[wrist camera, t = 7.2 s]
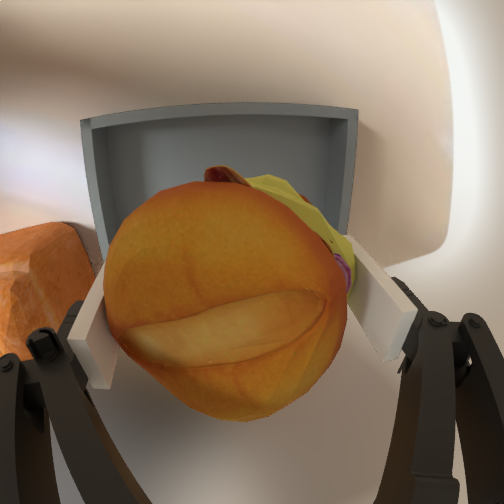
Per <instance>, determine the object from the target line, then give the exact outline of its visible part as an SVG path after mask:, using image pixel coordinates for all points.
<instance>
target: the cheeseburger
mask: <svg viewBox="0 0 504 504" xmlns="http://www.w3.org/2000/svg"><path fill="white" fill-rule="evenodd" d="M204 181H205V182H203V181H193V182H190V183H186V184H182V185H179V186H175V187H172V188H168V189H165V190H161V191H159V192H158V193H156V194H155V195H154V196H152V197H151V198H150V199H148V200H147V201H146V202H144V203H143V204H142V205H141V206H139V207H138V208H137V209H136V210H134V211H133V212H132V213H131V214H130V215H129V216H128V217H127V218H126V219H124V221H123V222H122V224H121V226H120V228H119V229H118V231H117V233H116V235H115V237H114V238H113V240H112V242H111V244H110V246H109V249H108V253H107V258H106V262H105V268H104V279H103V291H104V299H105V306H106V313H107V319H108V324H109V328H110V331H111V334H112V336H113V338H114V339H115V340H116V342H117V343H118V344H119V346H120V347H121V348H122V349H123V350H124V351H125V352H126V354H127V355H128V356H129V357H131V359H133V360H134V361H135V362H136V363H137V364H139V365H140V366H141V367H142V368H143V369H145V370H146V371H147V372H148V373H149V374H150V375H152V376H153V377H154V378H155V379H156V380H157V381H158V382H160V383H161V384H162V385H163V386H164V387H165V388H166V389H167V390H169V391H170V392H171V393H172V394H173V395H174V396H175V397H177V398H178V399H179V400H181V401H182V402H183V403H185V404H186V405H187V406H189V407H190V408H192V409H194V410H197V411H199V412H202V413H204V414H207V415H209V416H212V417H214V418H217V419H220V420H227V421H239V422H248V421H252V420H256V419H260V418H264V417H268V416H270V415H272V414H273V413H275V412H277V411H278V410H280V409H282V408H284V407H285V406H287V405H288V404H290V403H292V402H293V401H295V400H296V399H298V398H299V397H301V396H302V395H304V394H305V393H307V392H308V391H309V390H310V388H311V387H312V386H313V385H314V384H315V383H316V382H317V380H318V379H319V378H320V377H321V376H322V375H323V373H324V372H325V371H326V370H327V368H328V367H329V366H330V365H331V363H332V361H333V360H334V358H335V356H336V354H337V352H338V351H339V349H340V346H341V342H342V338H343V334H344V330H345V326H346V322H347V299H348V298H349V296H350V293H351V290H352V287H353V283H354V280H355V259H354V253H353V248H352V243H351V242H349V241H348V240H347V238H346V237H344V236H342V235H341V234H339V233H338V232H337V231H336V230H335V229H334V228H333V227H331V226H330V224H329V223H328V222H327V220H326V219H325V218H324V216H323V215H322V214H321V212H320V211H319V210H318V208H316V207H315V206H313V205H312V204H311V203H310V202H309V201H308V199H307V198H306V197H305V196H303V195H301V194H299V193H297V192H296V191H295V190H294V188H293V187H292V186H291V185H290V184H289V183H288V182H287V181H286V180H284V179H281V178H278V177H275V176H273V175H270V174H267V175H262V176H258V177H253V178H243V177H242V176H241V175H240V174H239V173H237V172H236V171H235V170H234V169H232V168H230V167H228V166H226V165H216V166H212V167H208V168H206V170H205V173H204Z"/></svg>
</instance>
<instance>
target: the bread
mask: <svg viewBox="0 0 504 504" xmlns="http://www.w3.org/2000/svg"><path fill="white" fill-rule="evenodd" d="M95 279H96V278H95V275H94V272H93V269H92V266H91V264H90V261H89V258H88V255H87V253H86V250H85V248H84V246H83V244H82V242H81V240H80V238H79V236H78V234H77V232H76V230H75V228H73V227H71V226H69V225H67V224H65V223H60V222H50V223H45V224H41V225H36V226H32V227H28V228H23V229H20V230H16V231H13V232H9V233H5V234H1V235H0V357H1V356H3V355H4V354H7V353H15V354H17V355H18V357H19V358H20V360H21V361H25V360H30V359H34V358H33V357H32V355H31V353H30V352H29V350H28V348H27V346H26V340H27V338H28V336H29V335H30V334H31V333H32V332H33V331H35V330H36V329H38V328H42V327H50V328H52V329H54V331H55V332H56V334H57V332H58V330H59V327H60V325H61V323H62V321H63V319H64V317H66V313H67V312H68V310H69V308H70V307H71V306H72V305H73V304H74V303H75V302H76V301H77V300H85V299H86V297H87V295H88V293H89V291H90V289H91V287H92V285H93V283H94V281H95Z"/></svg>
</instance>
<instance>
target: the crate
mask: <svg viewBox="0 0 504 504" xmlns="http://www.w3.org/2000/svg"><path fill="white" fill-rule="evenodd" d="M80 123H81V135H82V146H83V155H84V163H85V170H86V177H87V184H88V190H89V196H90V202H91V208H92V213H93V218H94V223H95V228H96V232H97V237H98V241H99V246H100V250H101V254H102V258H103V262H105V261H106V258H107V253H108V249H109V246H110V244H111V242H112V240H113V238H114V237H115V235H116V233H117V231H118V229H119V228H120V226H121V224H122V222H123V221H124V219H126V218H127V217H128V216H129V215H130V214H131V213H132V212H133V211H134V210H136V209H137V208H138V207H139V206H141V205H142V204H143V203H144V202H146V201H147V200H148V199H150V198H151V197H152V196H154V195H155V194H156V193H158V192H159V191H161V190H165V189H168V188H172V187H175V186H179V185H182V184H186V183H190V182H193V181H203V182H205V181H204V173H205V170H206V168H208V167H212V166H216V165H226V166H228V167H230V168H232V169H234V170H235V171H236V172H237V173H239V174H240V175H241V176H242V177H243V178H253V177H258V176H262V175H267V174H270V175H273V176H275V177H278V178H281V179H284V180H286V181H287V182H288V183H289V184H290V185H291V186H292V187H293V188H294V190H295V191H296V192H297V193H299V194H301V195H303V196H305V197H306V198H307V199H308V201H309V202H310V203H311V204H312V205H313V206H315V207H316V208H318V210H319V211H320V212H321V214H322V215H323V216H324V218H325V219H326V220H327V222H328V223H329V224H330V226H331V227H333V228H334V229H335V230H336V231H337V232H338V233H339V234H341V235H346V233H347V226H348V219H349V212H350V204H351V195H352V186H353V177H354V167H355V156H356V143H357V128H358V110H357V109H349V108H340V107H330V106H319V105H306V104H289V103H209V104H192V105H179V106H168V107H158V108H150V109H142V110H134V111H127V112H121V113H115V114H109V115H103V116H98V117H93V118H88V119H83V120H80Z"/></svg>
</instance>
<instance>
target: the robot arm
mask: <svg viewBox="0 0 504 504" xmlns="http://www.w3.org/2000/svg"><path fill="white" fill-rule="evenodd" d="M342 236H344V237H346V238H347V240H348V241H349V242H351V243H352V248H353V253H354V259H355V280H354V283H353V287H352V290H351V293H350V296H349V298H348V299H347V304H348V305H349V307H350V308H351V310H352V311H353V313H354V315H355V316H356V318H357V320H358V321H359V323H360V325H361V326H362V328H363V330H364V331H365V333H366V335H367V336H368V338H369V340H370V341H371V343H372V345H373V346H374V348H375V350H376V352H377V353H378V355H379V357H380V358H381V360H382V362H387V361H391V360H394V359H397V358H398V356H399V354H400V352H401V350H403V351H404V353H405V354H406V355H405V358H404V360H403V362H402V364H401V366H400V368H399V370H398V372H397V373H400V372H401V370H402V376H401V384H400V391H399V399H398V405H397V411H396V418H395V424H394V428H393V433H392V438H391V443H390V448H389V452H388V456H387V461H386V465H385V469H384V473H383V477H382V480H381V484H380V487H379V491H378V494H377V497H376V499H375V501H374V503H373V504H457V503H458V497H459V488H460V484H459V481H458V480H457V479H455V478H453V476H452V467H453V457H454V456H453V455H454V444H455V443H454V442H455V419H456V423H457V428H458V433H459V438H460V443H461V449H462V455H463V462H464V468H465V475H466V485H467V495H468V504H504V358H503V356H502V354H501V352H500V350H499V347H498V345H497V343H496V341H495V339H494V337H493V335H492V333H491V331H490V330H489V328H488V326H487V324H486V322H485V321H484V320H483V318H481V317H480V316H479V315H477V314H474V313H466V314H465V315H464V316H463V318H462V320H461V322H449V320H448V319H447V318H446V317H445V316H444V315H442V314H441V313H438V312H435V311H428V310H427V308H426V307H425V306H424V305H423V304H422V303H421V301H420V300H419V299H418V298H417V297H416V296H415V295H414V293H413V292H412V291H411V290H409V288H408V287H407V286H406V285H405V283H404V282H402V281H401V280H399V279H397V278H395V277H391V278H390V276H389V275H388V274H387V273H386V272H385V271H384V270H383V269H382V267H381V266H380V265H379V264H378V263H377V262H376V261H375V260H374V259H373V258H372V257H371V255H370V254H369V253H368V252H367V251H366V250H365V249H364V248H363V247H362V246H361V245H360V244H359V243H358V242H357V241H356V240H355V238H354V237H353V236H352V235H342ZM105 262H106V261H105ZM105 262H104V264H103V266H102V268H101V270H100V272H99V274H98V275H97V277H96V279H95V281H94V283H93V285H92V287H91V289H90V291H89V293H88V295H87V297H86V299H85V300H77V301H76V302H75V303H74V304H73V305H72V306H71V307H70V308H69V310H68V312H67V313H66V317H64V319H63V321H62V323H61V325H60V327H59V330H58V332H57V334H56V332H55V331H54V329H52V328H50V327H42V328H38V329H36V330H35V331H33V332H32V333H31V334H30V335H29V336H28V338H27V340H26V346H27V348H28V350H29V352H30V353H31V355H32V357H33V358H34V359H30V360H25V361H21V360H20V358H19V357H18V355H17V354H15V353H7V354H4V355H3V356H1V357H0V504H61V503H60V498H59V494H58V488H57V483H56V477H55V470H54V463H53V456H52V447H51V436H50V422H49V417H50V420H51V423H52V426H53V429H54V432H55V435H56V438H57V440H58V443H59V446H60V449H61V451H62V454H63V456H64V459H65V461H66V464H67V466H68V468H69V470H70V473H71V475H72V477H73V479H74V482H75V484H76V486H77V488H78V490H79V492H80V494H81V496H82V498H83V500H84V502H85V504H152V503H151V501H150V500H149V499H148V497H147V496H146V494H145V493H144V491H143V490H142V488H141V487H140V485H139V484H138V483H137V481H136V479H135V478H134V476H133V475H132V473H131V471H130V470H129V468H128V467H127V465H126V463H125V462H124V460H123V458H122V457H121V455H120V453H119V451H118V450H117V448H116V446H115V444H114V442H113V441H112V439H111V437H110V435H109V433H108V432H107V430H106V427H105V426H104V424H103V422H102V420H101V418H100V415H99V414H98V412H97V409H96V407H95V405H94V403H93V401H92V398H91V396H90V394H89V392H88V390H87V389H86V385H87V381H88V380H89V382H90V383H91V385H92V386H93V388H100V389H110V386H111V382H112V377H113V373H114V369H115V365H116V361H117V357H118V353H119V349H120V346H119V344H118V343H117V342H116V340H115V339H114V338H113V336H112V334H111V331H110V328H109V324H108V319H107V313H106V306H105V299H104V291H103V279H104V268H105ZM470 357H471V360H472V364H471V365H470V364H469V361H468V360H469V359H470Z"/></svg>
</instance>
